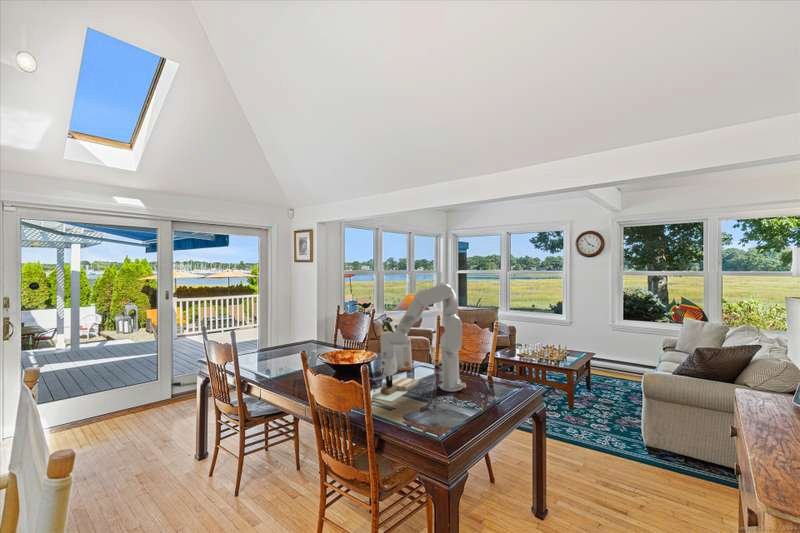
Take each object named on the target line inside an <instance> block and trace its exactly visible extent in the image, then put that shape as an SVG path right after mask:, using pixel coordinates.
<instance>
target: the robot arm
mask: <svg viewBox="0 0 800 533" xmlns="http://www.w3.org/2000/svg"><path fill="white" fill-rule="evenodd" d="M439 302H442V318H441V319H442V320H441V324H442V327H443V328H444V333H443V334H441V336H440V338H439V339H440V340H439V343H440V351H441V353H440V354H441V374H442V377H441V380H442V383H441V384H440V386H439V388H440V390H442V391H445V392H459V391H461V390H462V389H463V388H464V389H466V387H467V384H466V382H462V379H461V378H460V364H459V363H460V360H459V351H460V350H461V348H462V344H463V322H462V320H461V318H460V317H459V301H458V296H457V294H456V292H455V291H454V289H453V288H452V286H451V285H449V284H448V283H445V282H437V283H436V284H435V286H433V287H431V288H428V289H422V288H421V289H419V290H417V292H416V293H415V294H414V296H413V298H412V300H411V302H410V304H409V306H408V307H407V310H406V311H405V312H404V314H403V316H402V318H401V319H400V321H399V322H398V324H397V326H396V328H395V330H394V332H393V331H391V330H389V331H382V332H381V333H380V337H379V338H380V353H381V354H380V356H381V357H380V358H381V359H380V374H381V376H382V379H385V382H386V386H387V387H392V386H393V383H392V379H393V378H394V375H395V374H396V373H397V372H398V371H397V362H396V356H395V350H394V345H405V344H406V343H407V341H408V338H409V337H408V334H409V332H410V330H411V329H412V327H413V326H414V325H415V323H417V322H418V321H419V320H420V318H421V317H422V315H423V313H424V311H425V309H426V308H427V307H428V306H430V305H433V304H437V303H439Z"/></svg>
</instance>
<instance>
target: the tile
mask: <svg viewBox="0 0 800 533" xmlns="http://www.w3.org/2000/svg"><path fill="white" fill-rule="evenodd" d="M398 390H399V387H398V386H397V385H393V386H392V387H387V386H385V387H384V388H382V389H381V394H386V395H391V394H393V393H394V392H396V391H398Z"/></svg>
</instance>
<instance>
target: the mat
mask: <svg viewBox="0 0 800 533" xmlns="http://www.w3.org/2000/svg"><path fill="white" fill-rule="evenodd" d="M382 388H384V387H383V386H380V387H378V388H376V389H375V390H373V391H371V392H373V395H372V398H371V399H376V400H379V401H380V400H381V401H385V402H389V403H392V402H393V401H396V400H397V399H399V398H400V397H402V396H403V395H405V394H407V393H408V391H401V390H398V391H396V392H394V393H393V394H391V395H386V394H381V389H382ZM374 391H375V392H374ZM374 395H375V396H374Z"/></svg>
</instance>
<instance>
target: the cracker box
mask: <svg viewBox="0 0 800 533" xmlns="http://www.w3.org/2000/svg"><path fill="white" fill-rule="evenodd" d="M394 350H395V356H396V362H397V372H401V371H402V372H408V371H409V372H411V371H412V369H413V362H412V361H413V360H412V344H411V337H408V341H407V343H406V344H405V345H394Z"/></svg>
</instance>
